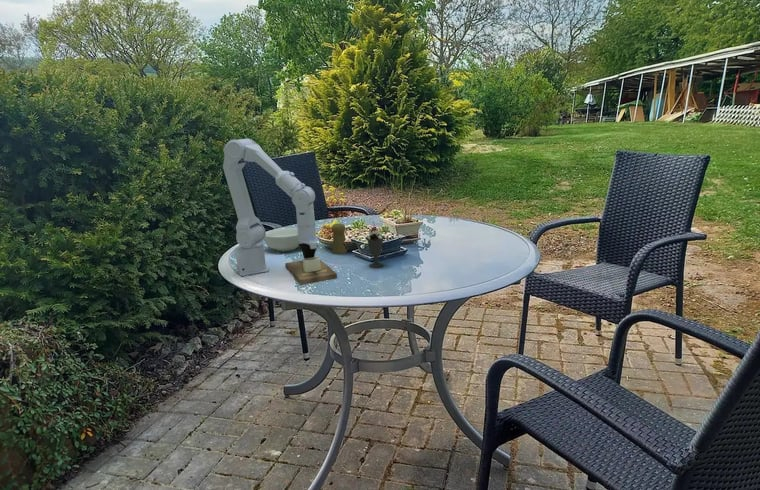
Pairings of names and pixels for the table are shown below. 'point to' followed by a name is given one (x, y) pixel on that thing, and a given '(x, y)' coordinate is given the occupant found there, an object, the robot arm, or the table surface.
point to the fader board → (310, 273)
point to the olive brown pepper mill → (338, 239)
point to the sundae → (375, 246)
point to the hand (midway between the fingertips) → (309, 264)
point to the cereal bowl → (282, 239)
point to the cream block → (311, 264)
